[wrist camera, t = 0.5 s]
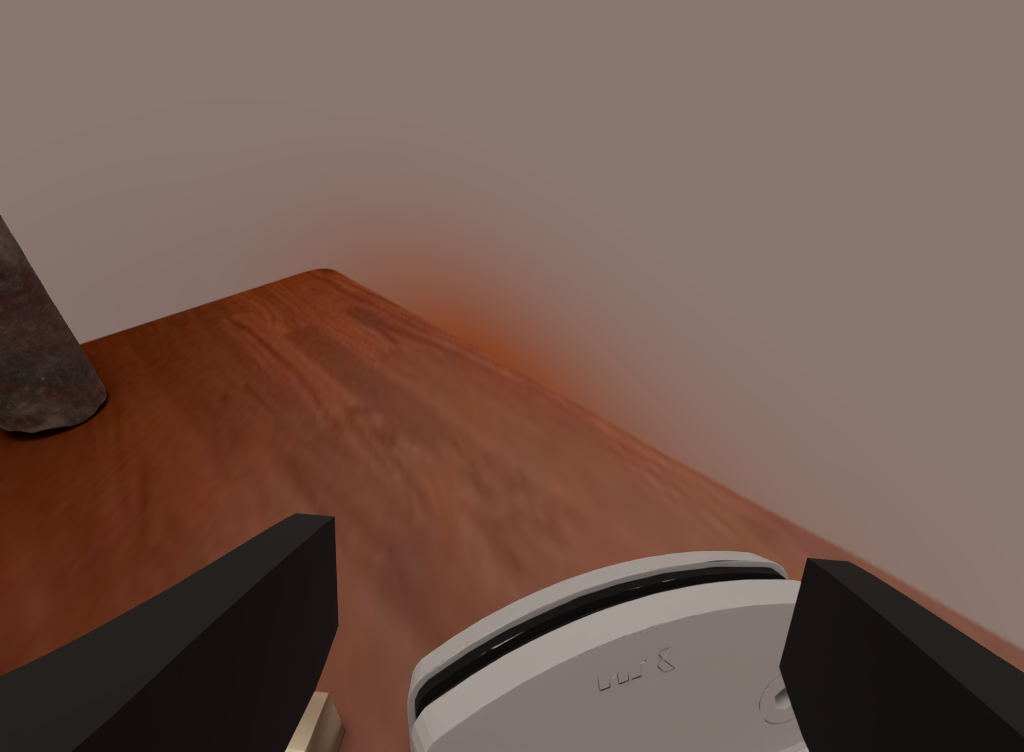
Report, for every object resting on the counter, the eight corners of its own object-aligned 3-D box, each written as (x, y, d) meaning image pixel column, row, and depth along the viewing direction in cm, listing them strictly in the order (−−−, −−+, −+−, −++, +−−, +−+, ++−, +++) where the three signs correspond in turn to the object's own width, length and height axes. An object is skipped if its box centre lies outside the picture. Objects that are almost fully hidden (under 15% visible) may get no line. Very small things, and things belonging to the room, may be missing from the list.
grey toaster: (440, 1004, 17) (369, 747, 15) (424, 851, 22) (367, 633, 19) (883, 803, 21) (885, 567, 19) (791, 706, 25) (782, 506, 23)
